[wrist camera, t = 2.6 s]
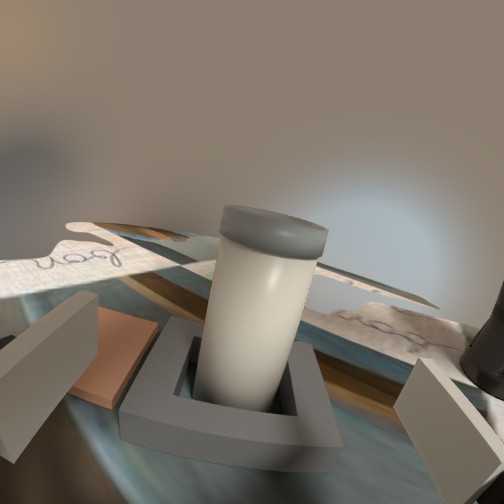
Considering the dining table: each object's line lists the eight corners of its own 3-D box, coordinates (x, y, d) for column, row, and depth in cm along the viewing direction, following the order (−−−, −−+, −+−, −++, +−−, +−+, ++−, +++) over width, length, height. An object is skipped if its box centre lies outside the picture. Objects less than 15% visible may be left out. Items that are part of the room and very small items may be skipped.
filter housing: (302, 367, 30) (311, 343, 30) (327, 473, 17) (344, 447, 16) (167, 341, 30) (170, 315, 29) (120, 439, 16) (118, 409, 15)
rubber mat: (157, 331, 31) (158, 323, 31) (112, 410, 18) (111, 400, 18) (70, 305, 31) (70, 297, 30) (1, 360, 18) (-1, 350, 18)
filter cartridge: (270, 383, 27) (316, 221, 23) (274, 435, 20) (341, 238, 17) (196, 369, 26) (228, 202, 23) (182, 419, 20) (218, 211, 16)
